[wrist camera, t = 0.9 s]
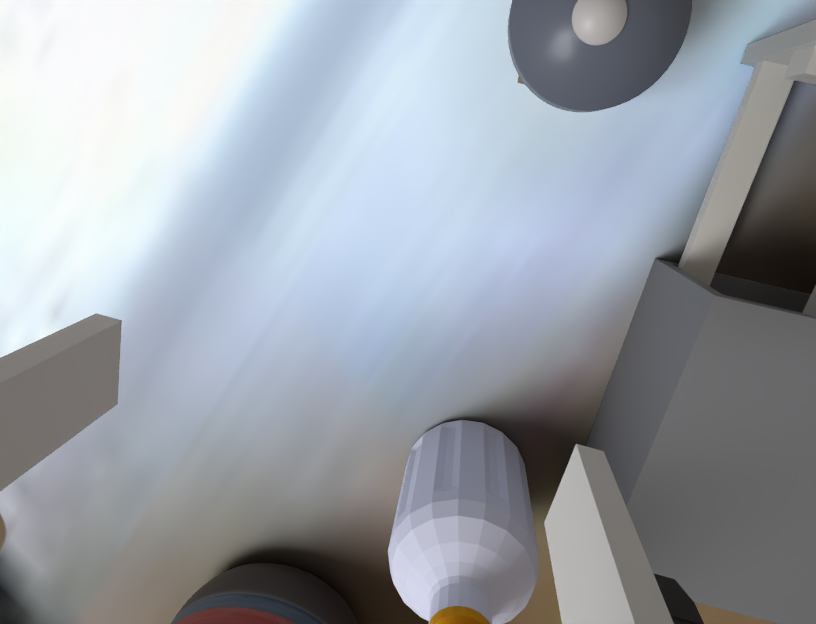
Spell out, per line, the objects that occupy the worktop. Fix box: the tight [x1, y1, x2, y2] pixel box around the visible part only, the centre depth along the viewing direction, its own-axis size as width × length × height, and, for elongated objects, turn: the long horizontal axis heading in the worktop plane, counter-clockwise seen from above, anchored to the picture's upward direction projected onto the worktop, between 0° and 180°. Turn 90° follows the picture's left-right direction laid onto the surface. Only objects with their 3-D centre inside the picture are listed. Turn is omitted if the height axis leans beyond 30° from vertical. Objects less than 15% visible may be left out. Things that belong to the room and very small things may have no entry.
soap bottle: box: [388, 420, 539, 624], centre depth 29 cm, size 9×9×25 cm
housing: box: [586, 259, 816, 624], centre depth 32 cm, size 18×20×9 cm
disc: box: [508, 0, 692, 112], centre depth 25 cm, size 8×8×2 cm
